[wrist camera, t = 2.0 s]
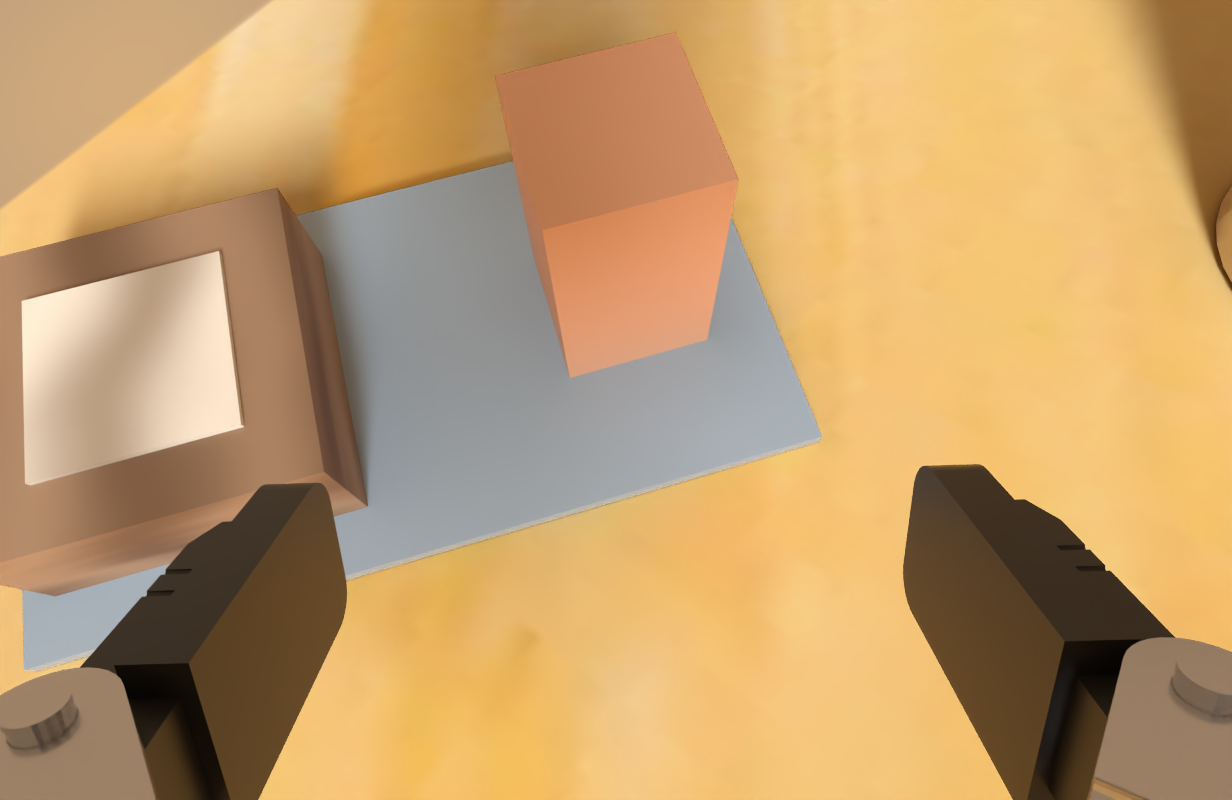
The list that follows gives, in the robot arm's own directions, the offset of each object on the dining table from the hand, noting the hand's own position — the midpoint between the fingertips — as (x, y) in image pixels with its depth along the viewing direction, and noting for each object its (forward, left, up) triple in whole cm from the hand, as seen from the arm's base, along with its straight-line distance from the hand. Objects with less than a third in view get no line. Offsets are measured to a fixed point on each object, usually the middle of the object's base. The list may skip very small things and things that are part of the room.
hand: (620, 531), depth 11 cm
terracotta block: (-3, -11, -14) cm, 19 cm away
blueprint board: (+5, -11, -15) cm, 19 cm away
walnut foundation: (+12, -11, -14) cm, 22 cm away
